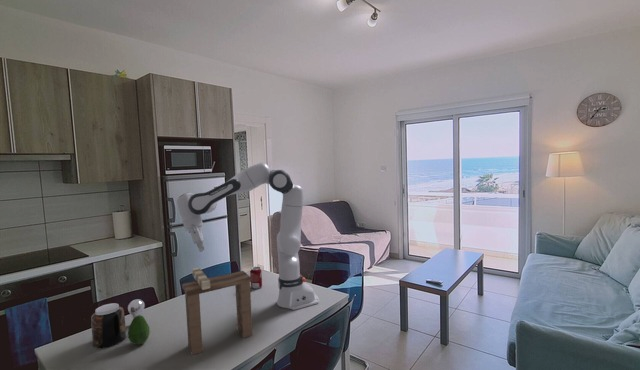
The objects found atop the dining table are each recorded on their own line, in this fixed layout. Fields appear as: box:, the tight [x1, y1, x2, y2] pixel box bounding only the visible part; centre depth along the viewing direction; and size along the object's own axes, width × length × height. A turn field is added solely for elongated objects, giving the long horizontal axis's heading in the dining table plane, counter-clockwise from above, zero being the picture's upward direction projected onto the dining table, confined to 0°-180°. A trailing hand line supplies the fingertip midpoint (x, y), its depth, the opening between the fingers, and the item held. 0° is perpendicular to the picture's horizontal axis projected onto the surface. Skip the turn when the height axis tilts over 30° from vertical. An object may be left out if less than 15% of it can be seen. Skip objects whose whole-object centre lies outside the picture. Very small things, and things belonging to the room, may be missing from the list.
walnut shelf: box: [182, 270, 253, 356], centre depth 134 cm, size 10×26×26 cm, turn 123°
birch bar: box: [192, 267, 210, 290], centre depth 133 cm, size 20×3×3 cm, turn 33°
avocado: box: [127, 315, 151, 345], centre depth 134 cm, size 8×8×12 cm
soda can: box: [249, 266, 263, 290], centre depth 191 cm, size 7×7×12 cm
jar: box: [90, 302, 127, 349], centre depth 136 cm, size 12×12×15 cm
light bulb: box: [127, 298, 146, 320], centre depth 150 cm, size 7×7×12 cm
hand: (202, 250), depth 158 cm, fingers open, 8 cm apart
